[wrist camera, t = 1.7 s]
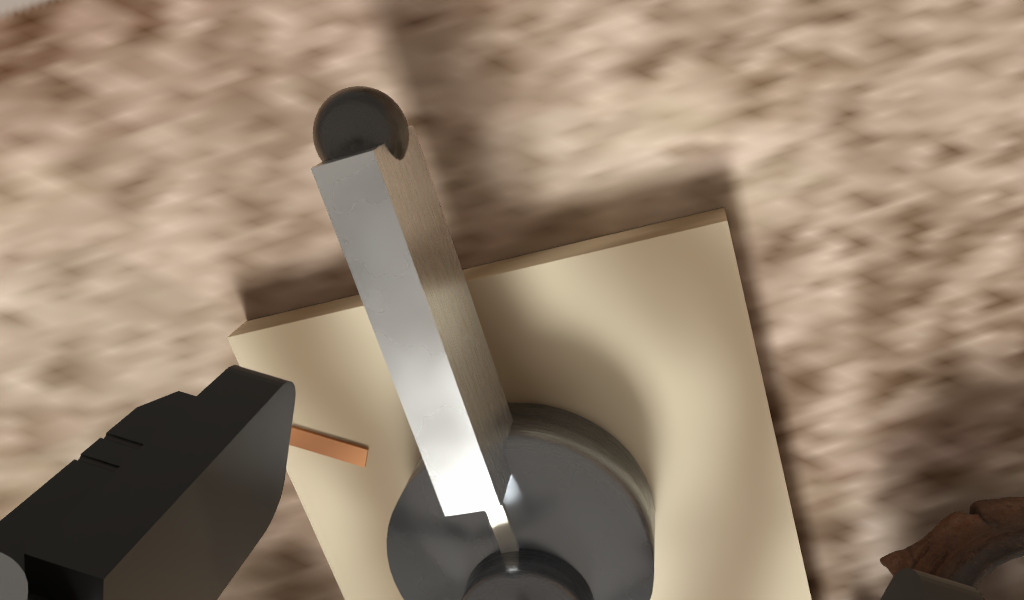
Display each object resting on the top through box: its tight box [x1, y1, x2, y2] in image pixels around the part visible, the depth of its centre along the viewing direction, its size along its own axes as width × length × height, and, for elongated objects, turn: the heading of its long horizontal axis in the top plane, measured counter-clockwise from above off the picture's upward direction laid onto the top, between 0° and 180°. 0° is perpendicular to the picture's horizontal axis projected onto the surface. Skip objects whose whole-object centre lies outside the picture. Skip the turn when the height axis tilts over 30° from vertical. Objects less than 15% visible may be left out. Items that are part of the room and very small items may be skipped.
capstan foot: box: [311, 86, 655, 600], centre depth 26 cm, size 21×9×5 cm, turn 17°
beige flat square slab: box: [227, 208, 812, 600], centre depth 31 cm, size 18×18×2 cm
